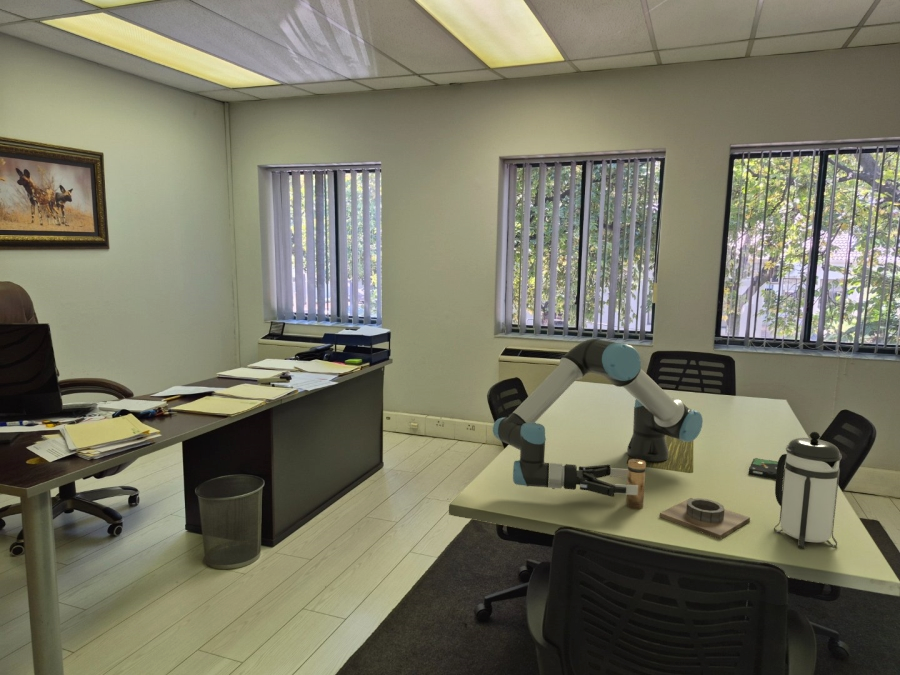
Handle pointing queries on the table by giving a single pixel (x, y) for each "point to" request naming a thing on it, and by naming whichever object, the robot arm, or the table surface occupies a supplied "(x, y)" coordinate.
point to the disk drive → (763, 468)
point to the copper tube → (636, 483)
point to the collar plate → (705, 526)
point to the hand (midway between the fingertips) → (634, 481)
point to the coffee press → (808, 489)
